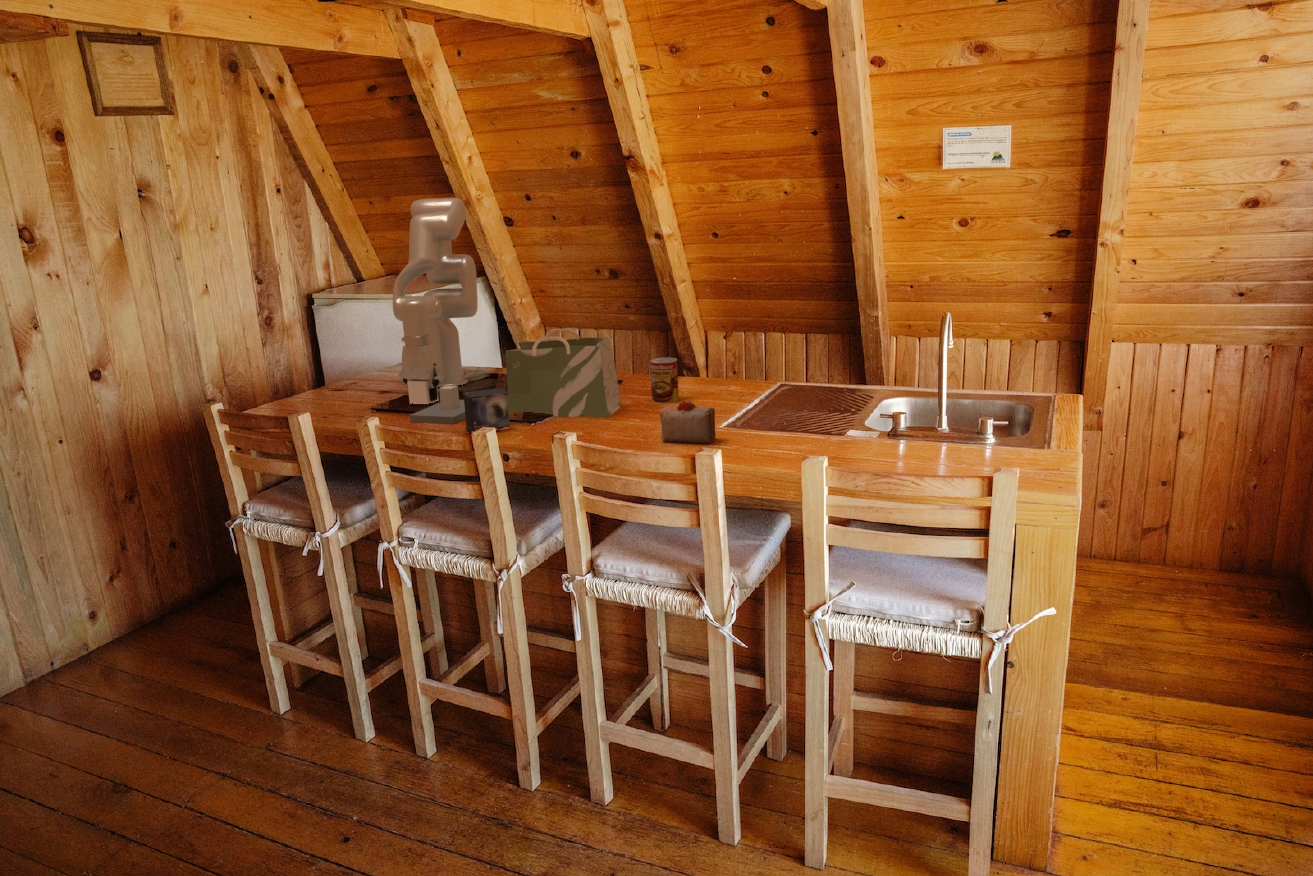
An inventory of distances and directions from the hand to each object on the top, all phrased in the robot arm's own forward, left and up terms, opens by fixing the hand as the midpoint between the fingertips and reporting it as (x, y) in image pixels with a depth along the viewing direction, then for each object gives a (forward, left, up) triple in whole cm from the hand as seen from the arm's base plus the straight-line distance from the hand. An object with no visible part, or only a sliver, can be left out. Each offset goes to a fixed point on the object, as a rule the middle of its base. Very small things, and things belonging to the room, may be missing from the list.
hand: (424, 399), depth 288 cm
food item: (+25, +92, -2) cm, 95 cm away
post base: (+11, +16, -1) cm, 19 cm away
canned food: (-16, +72, -2) cm, 74 cm away
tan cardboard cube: (0, 0, -1) cm, 1 cm away
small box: (+25, +36, -2) cm, 44 cm away
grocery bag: (+1, +47, -2) cm, 47 cm away
